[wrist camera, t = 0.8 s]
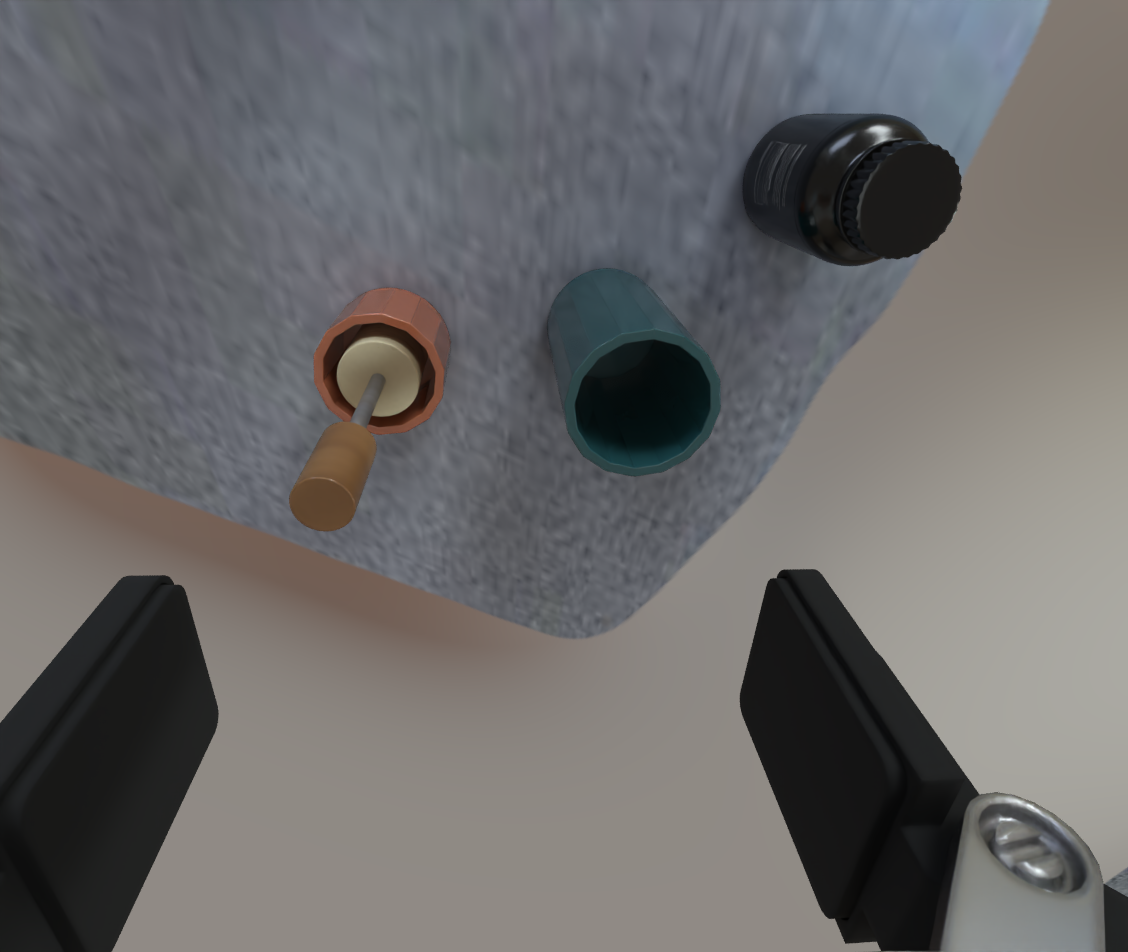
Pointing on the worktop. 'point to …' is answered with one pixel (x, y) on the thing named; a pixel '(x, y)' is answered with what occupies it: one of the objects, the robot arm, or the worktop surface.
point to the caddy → (399, 313)
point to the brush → (357, 423)
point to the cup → (629, 375)
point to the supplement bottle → (851, 187)
